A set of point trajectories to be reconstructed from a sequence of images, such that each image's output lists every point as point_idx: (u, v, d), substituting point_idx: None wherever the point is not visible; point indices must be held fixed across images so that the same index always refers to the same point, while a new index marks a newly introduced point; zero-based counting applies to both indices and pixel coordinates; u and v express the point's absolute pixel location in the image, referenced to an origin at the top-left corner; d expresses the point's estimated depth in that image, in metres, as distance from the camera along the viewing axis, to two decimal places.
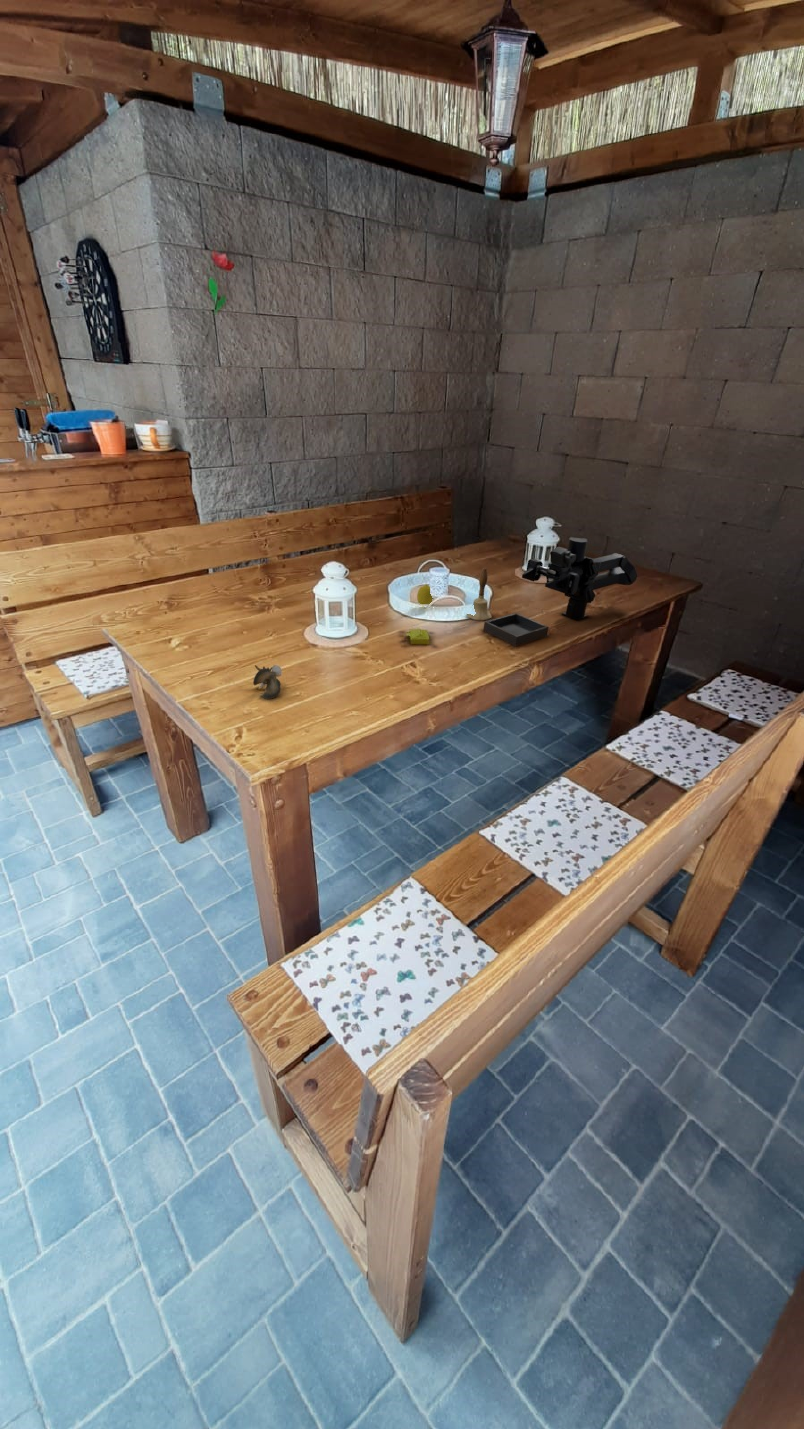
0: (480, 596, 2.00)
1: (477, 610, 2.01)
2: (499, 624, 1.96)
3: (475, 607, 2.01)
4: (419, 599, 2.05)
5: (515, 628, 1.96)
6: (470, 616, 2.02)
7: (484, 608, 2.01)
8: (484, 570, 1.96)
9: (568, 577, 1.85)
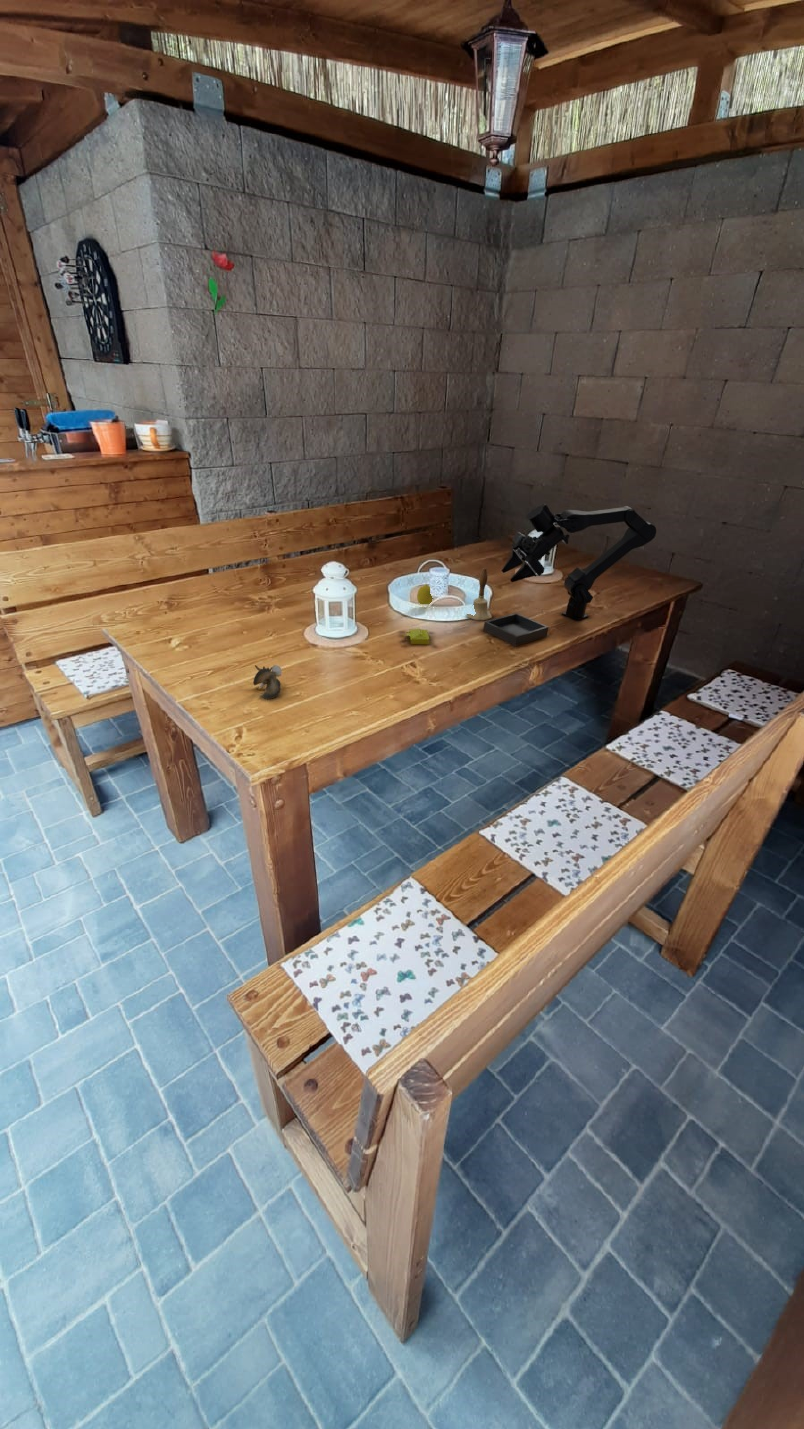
0: (480, 596, 2.00)
1: (477, 610, 2.01)
2: (499, 624, 1.96)
3: (475, 607, 2.01)
4: (419, 599, 2.05)
5: (515, 628, 1.96)
6: (470, 616, 2.02)
7: (484, 608, 2.01)
8: (484, 570, 1.96)
9: (526, 565, 1.90)
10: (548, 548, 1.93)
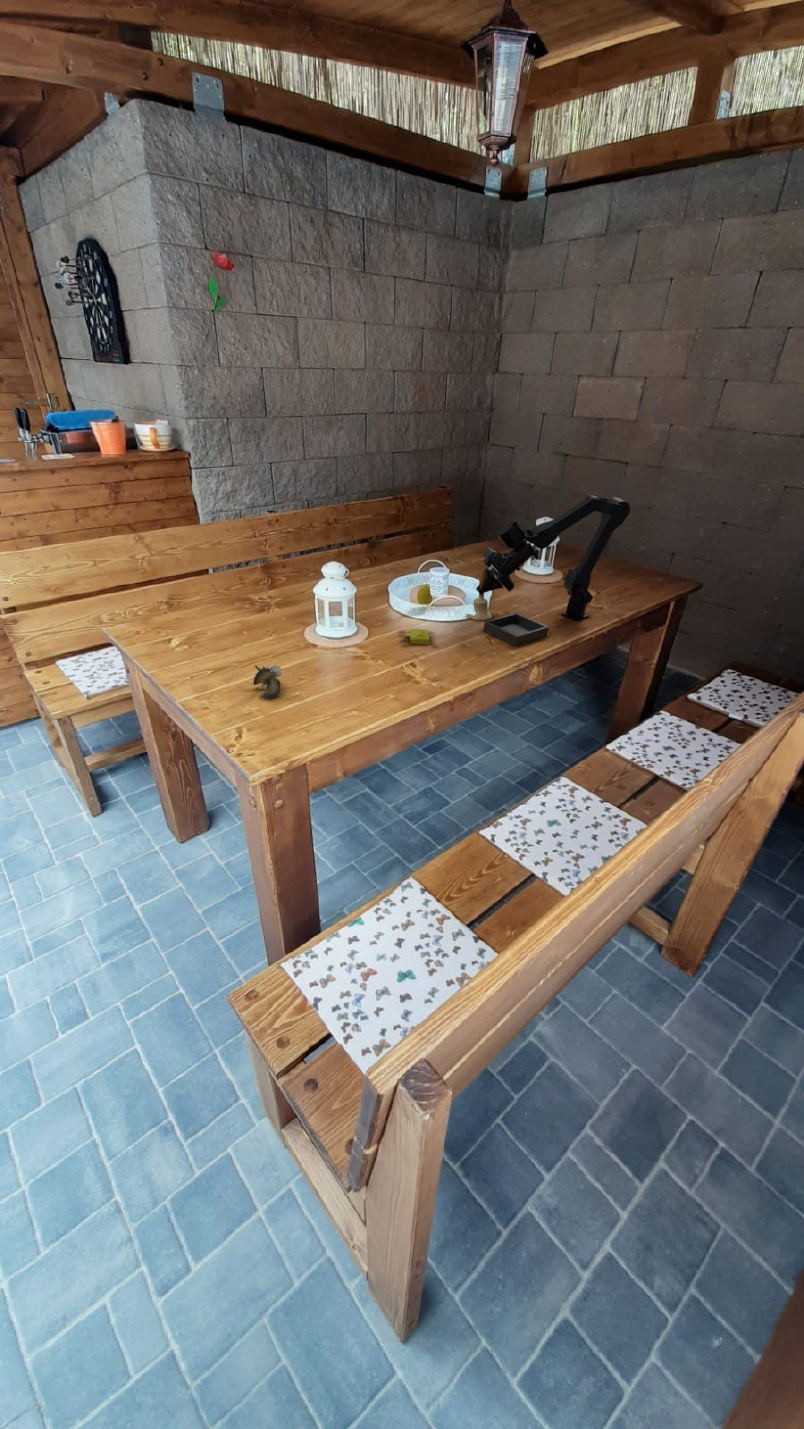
0: (480, 596, 2.00)
1: (477, 610, 2.01)
2: (499, 624, 1.96)
3: (475, 607, 2.01)
4: (419, 599, 2.05)
5: (515, 628, 1.96)
6: (470, 616, 2.02)
7: (484, 608, 2.01)
8: (484, 570, 1.96)
9: (492, 577, 1.94)
10: (518, 564, 1.95)
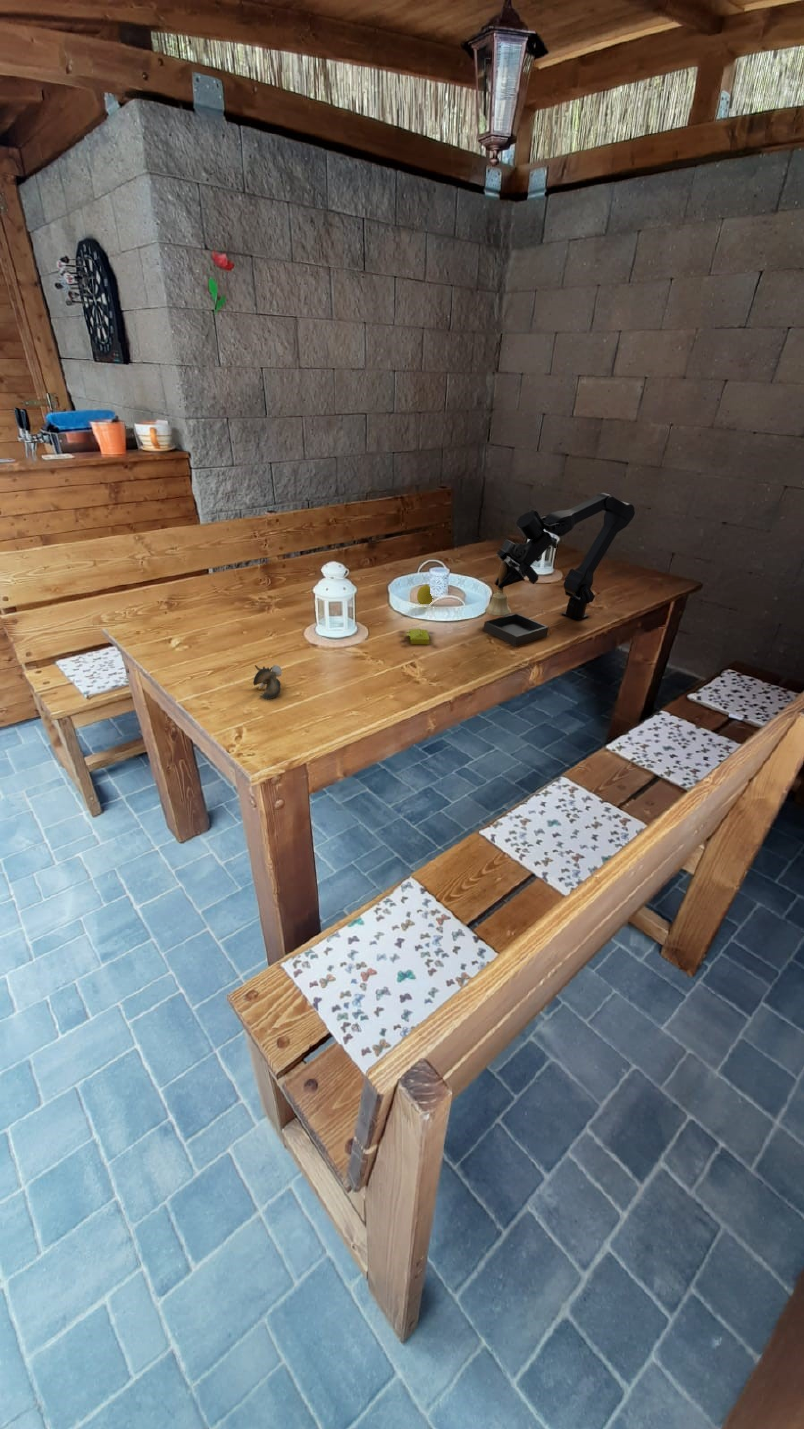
0: (499, 591, 1.92)
1: (497, 605, 1.92)
2: (499, 624, 1.96)
3: (495, 602, 1.92)
4: (419, 599, 2.05)
5: (515, 628, 1.96)
6: (490, 612, 1.93)
7: (504, 603, 1.92)
8: (504, 563, 1.87)
9: (514, 570, 1.86)
10: (538, 554, 1.87)
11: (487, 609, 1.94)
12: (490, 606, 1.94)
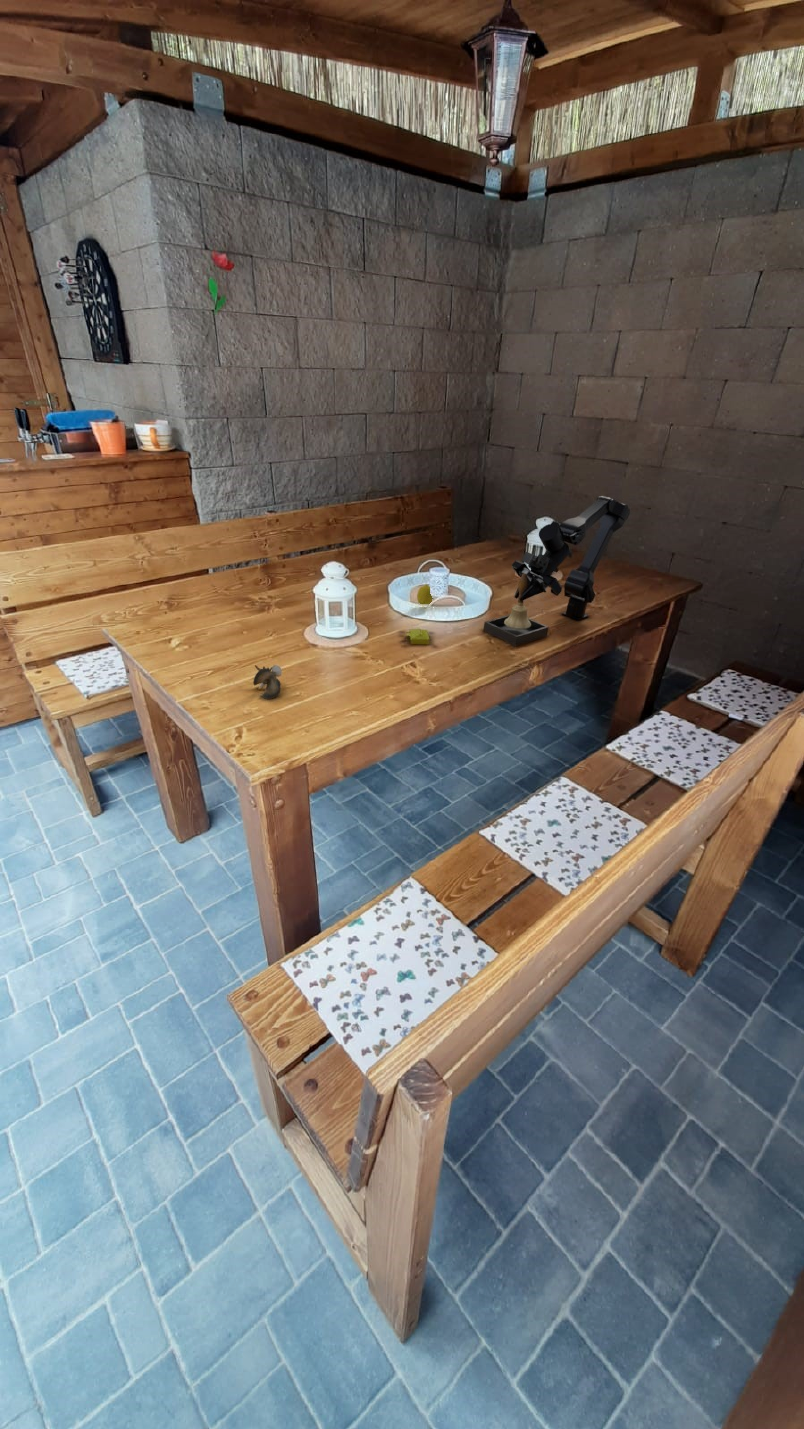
0: (520, 604, 1.88)
1: (518, 618, 1.88)
2: (499, 624, 1.96)
3: (516, 616, 1.88)
4: (419, 599, 2.05)
5: None
6: (512, 626, 1.89)
7: (525, 616, 1.89)
8: (525, 576, 1.83)
9: (537, 582, 1.82)
10: (557, 565, 1.85)
11: (507, 623, 1.90)
12: (510, 619, 1.90)
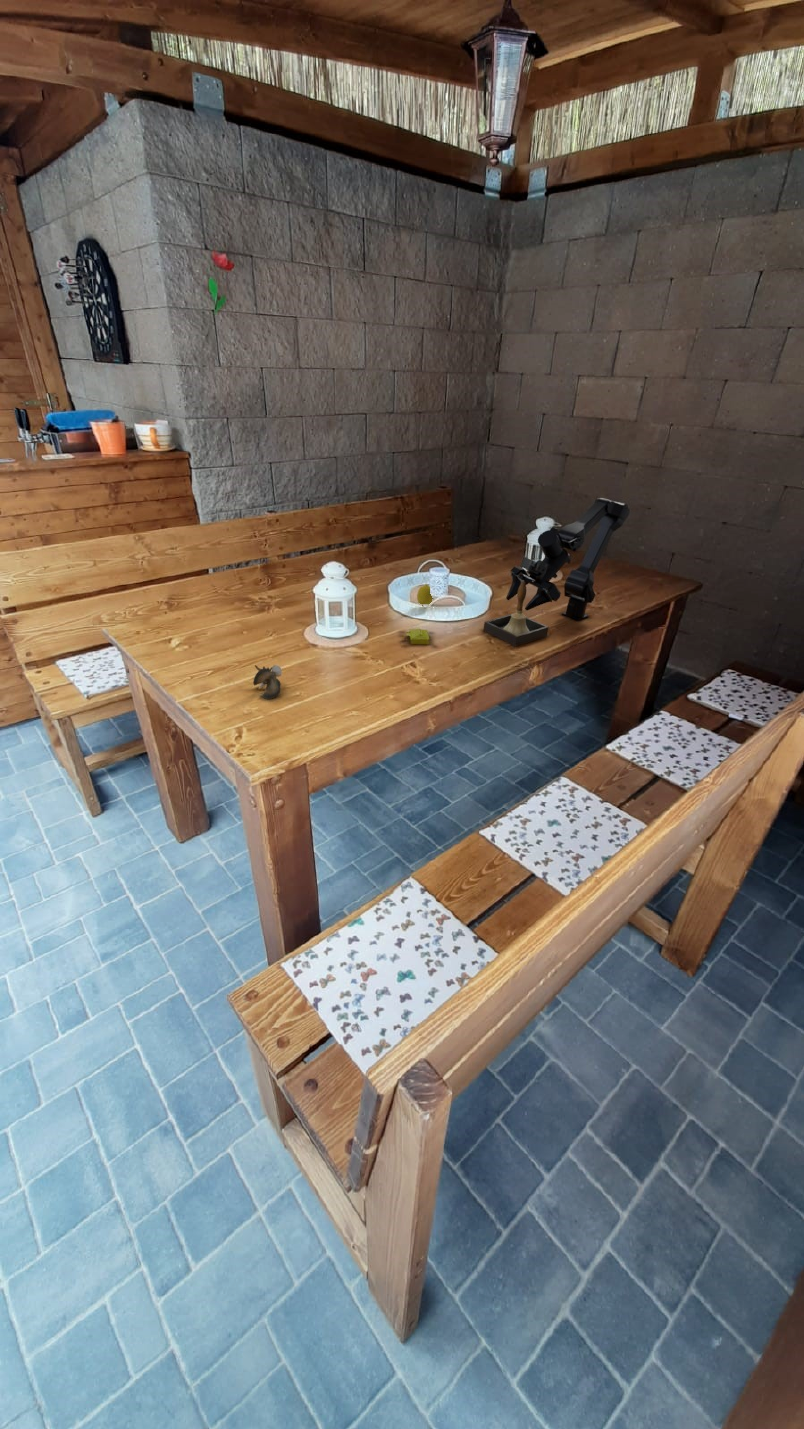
0: (519, 611, 1.89)
1: (517, 626, 1.90)
2: (499, 624, 1.96)
3: (515, 623, 1.90)
4: (419, 599, 2.05)
5: None
6: None
7: (524, 623, 1.90)
8: (524, 584, 1.85)
9: (543, 592, 1.81)
10: (556, 571, 1.86)
11: (506, 630, 1.91)
12: (509, 627, 1.91)
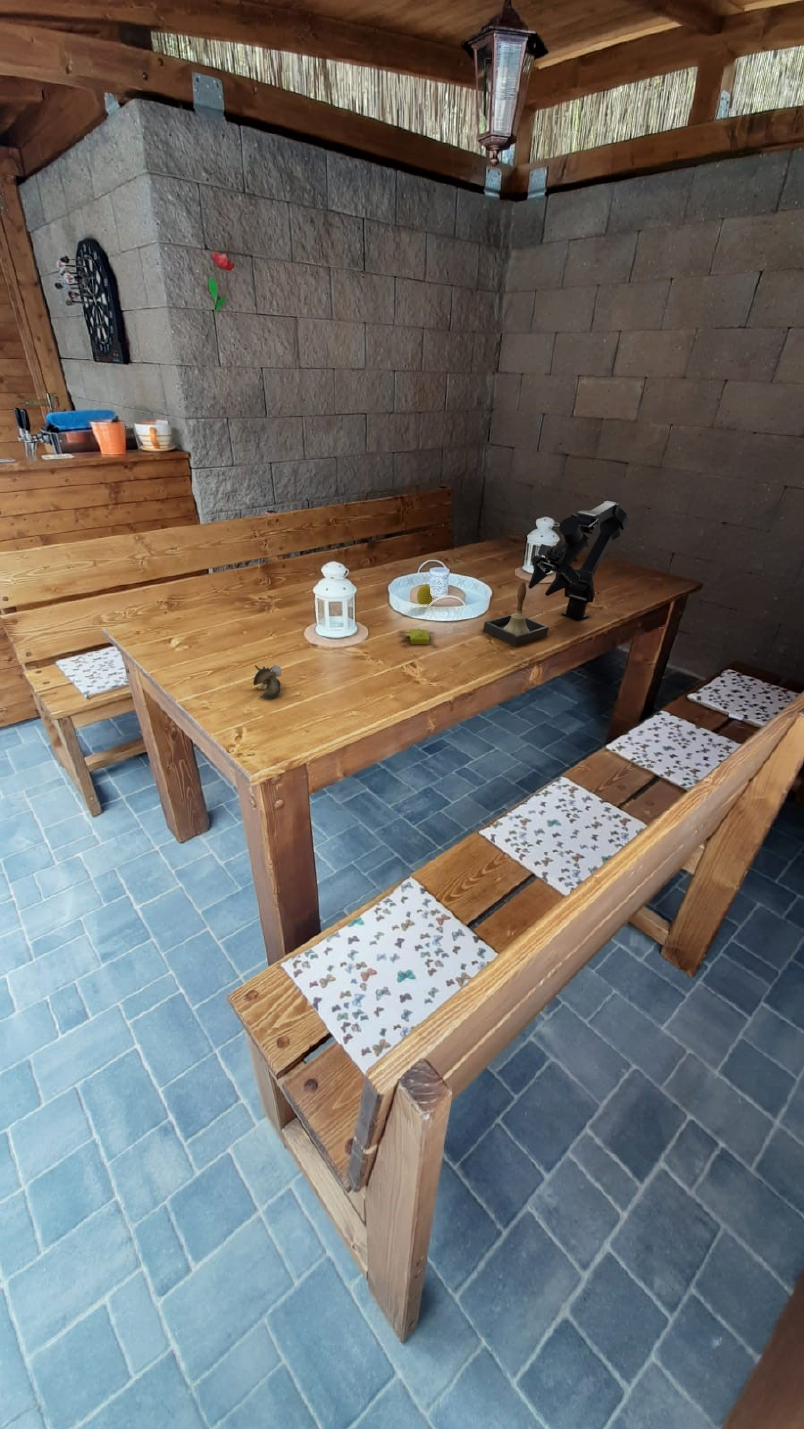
0: (519, 611, 1.89)
1: (517, 626, 1.90)
2: (499, 624, 1.96)
3: (515, 623, 1.90)
4: (419, 599, 2.05)
5: None
6: None
7: (524, 623, 1.90)
8: (524, 584, 1.85)
9: (561, 575, 1.81)
10: (575, 555, 1.86)
11: (506, 630, 1.91)
12: (509, 627, 1.91)
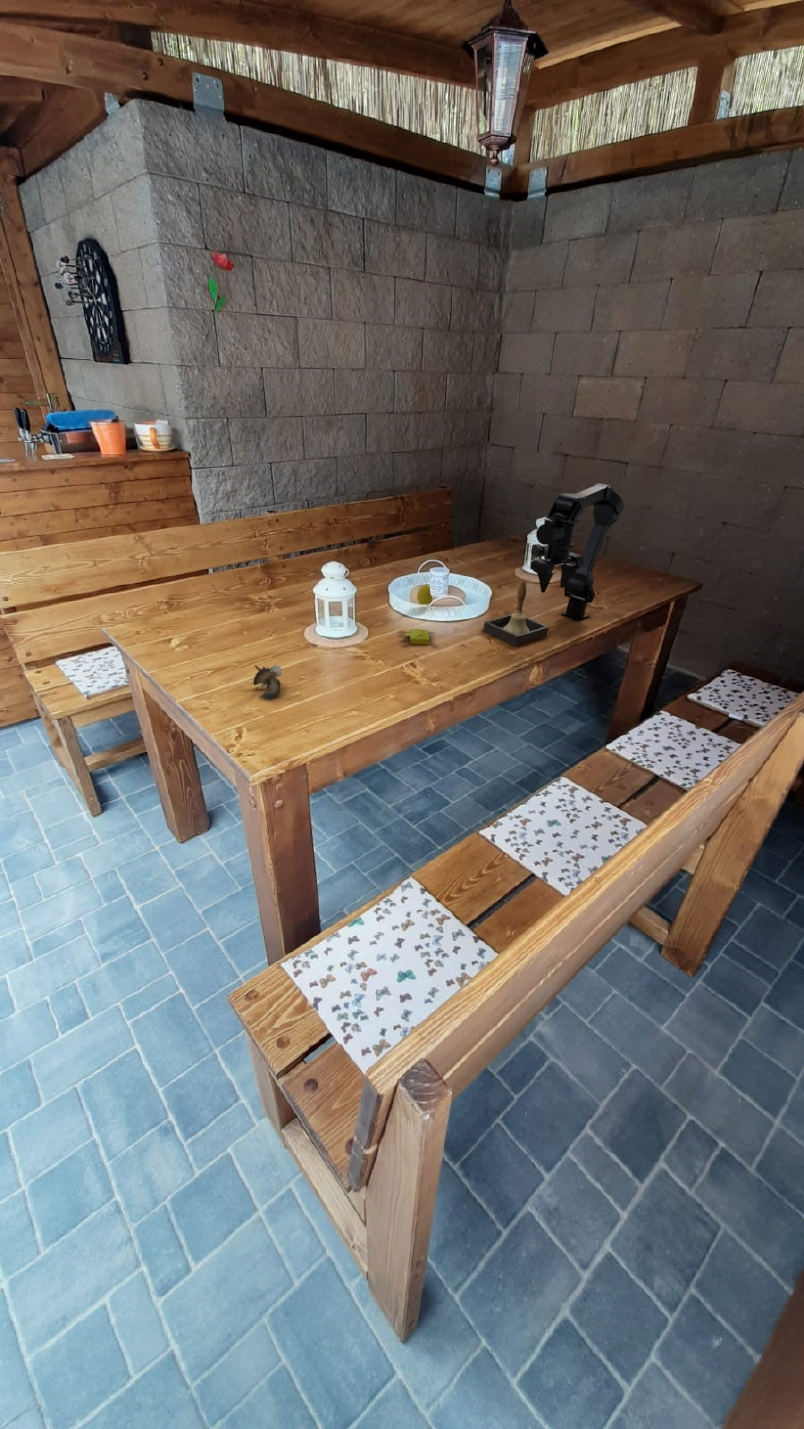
0: (519, 611, 1.89)
1: (517, 626, 1.90)
2: (499, 624, 1.96)
3: (515, 623, 1.90)
4: (419, 599, 2.05)
5: None
6: None
7: (524, 623, 1.90)
8: (524, 584, 1.85)
9: None
10: (558, 543, 1.82)
11: (506, 630, 1.91)
12: (509, 627, 1.91)
